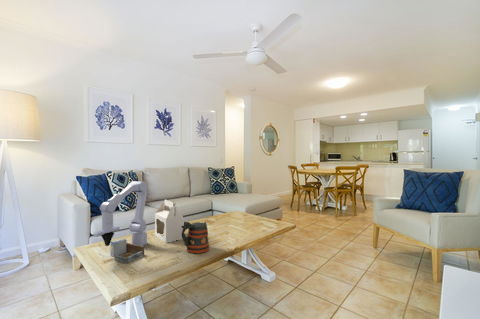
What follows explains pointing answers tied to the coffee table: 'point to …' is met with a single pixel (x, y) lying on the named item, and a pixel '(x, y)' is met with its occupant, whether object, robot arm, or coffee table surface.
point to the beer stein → (196, 237)
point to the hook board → (131, 248)
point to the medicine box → (118, 247)
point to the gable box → (168, 222)
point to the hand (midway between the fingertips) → (107, 245)
